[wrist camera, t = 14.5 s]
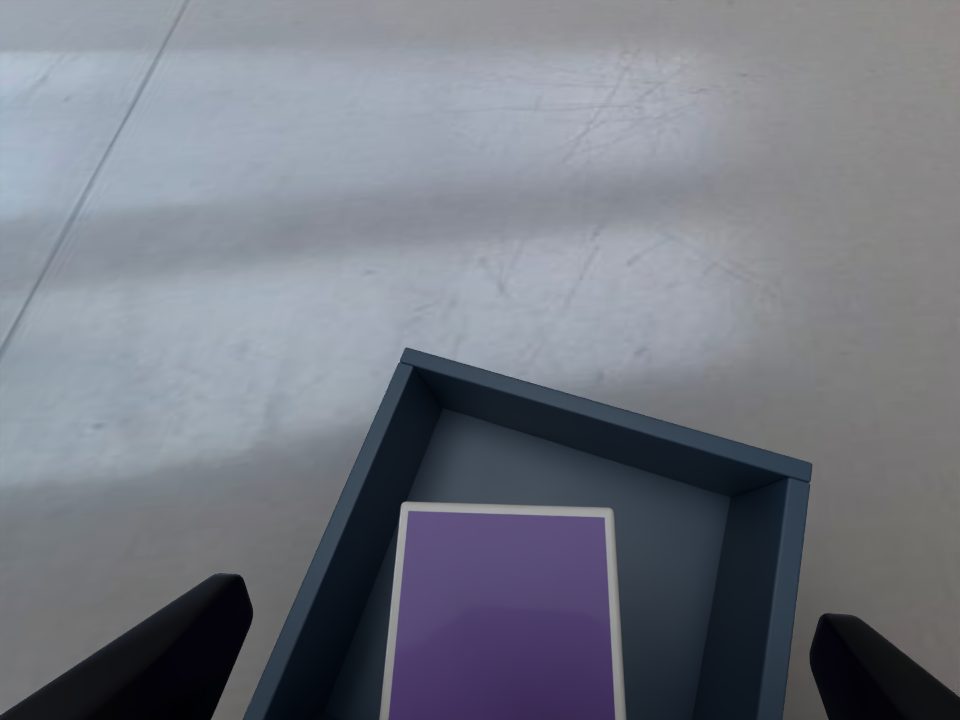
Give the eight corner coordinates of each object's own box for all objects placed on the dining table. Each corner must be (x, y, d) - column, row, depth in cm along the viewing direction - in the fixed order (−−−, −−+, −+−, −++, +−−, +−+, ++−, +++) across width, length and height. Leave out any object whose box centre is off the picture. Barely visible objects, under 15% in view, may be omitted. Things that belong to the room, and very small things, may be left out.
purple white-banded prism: (577, 667, 17) (637, 902, 5) (490, 660, 18) (363, 863, 6) (573, 542, 19) (614, 507, 7) (493, 539, 19) (400, 500, 7)
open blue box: (675, 907, 15) (740, 1088, 10) (310, 717, 18) (215, 778, 13) (743, 490, 19) (814, 462, 14) (438, 395, 22) (405, 346, 17)
